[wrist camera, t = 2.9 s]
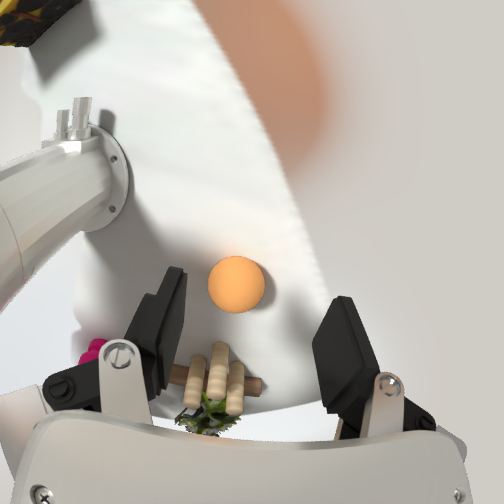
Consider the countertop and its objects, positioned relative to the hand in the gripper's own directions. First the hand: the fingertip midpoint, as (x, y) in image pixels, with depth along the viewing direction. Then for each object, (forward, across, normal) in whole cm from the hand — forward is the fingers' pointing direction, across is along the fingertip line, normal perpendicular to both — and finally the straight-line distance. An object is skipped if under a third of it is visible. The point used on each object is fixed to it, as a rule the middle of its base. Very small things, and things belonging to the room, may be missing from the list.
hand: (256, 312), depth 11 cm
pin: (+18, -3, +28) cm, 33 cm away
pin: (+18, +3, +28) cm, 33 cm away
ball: (+15, 0, +10) cm, 17 cm away
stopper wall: (+18, 0, +31) cm, 36 cm away
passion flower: (+18, 0, +38) cm, 42 cm away
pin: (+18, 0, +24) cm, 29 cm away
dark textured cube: (+18, +30, -22) cm, 42 cm away
